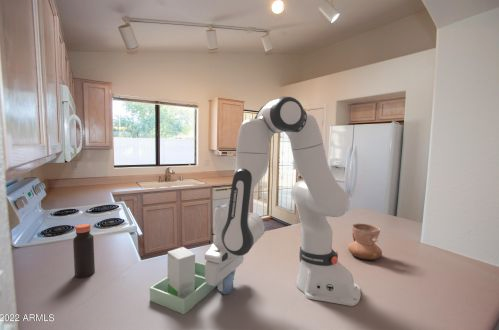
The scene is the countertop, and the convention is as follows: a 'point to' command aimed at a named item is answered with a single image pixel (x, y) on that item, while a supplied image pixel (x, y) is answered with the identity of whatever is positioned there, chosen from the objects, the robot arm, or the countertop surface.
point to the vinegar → (83, 251)
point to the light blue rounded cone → (227, 284)
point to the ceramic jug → (365, 242)
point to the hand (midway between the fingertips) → (226, 285)
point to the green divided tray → (176, 302)
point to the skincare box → (181, 272)
